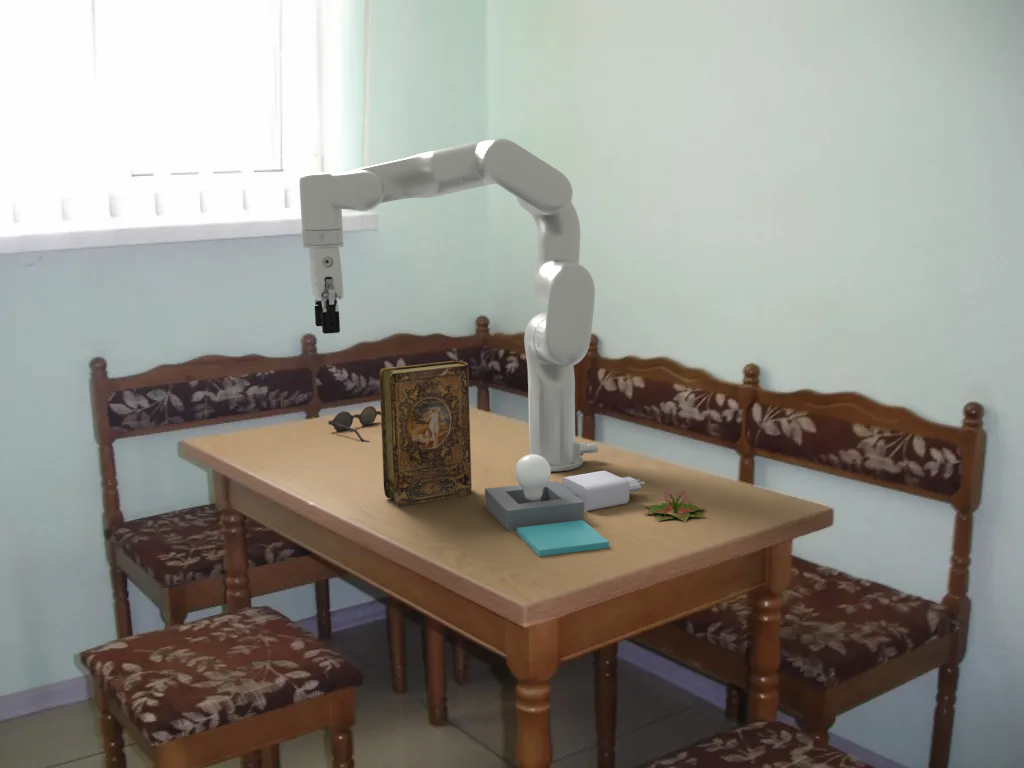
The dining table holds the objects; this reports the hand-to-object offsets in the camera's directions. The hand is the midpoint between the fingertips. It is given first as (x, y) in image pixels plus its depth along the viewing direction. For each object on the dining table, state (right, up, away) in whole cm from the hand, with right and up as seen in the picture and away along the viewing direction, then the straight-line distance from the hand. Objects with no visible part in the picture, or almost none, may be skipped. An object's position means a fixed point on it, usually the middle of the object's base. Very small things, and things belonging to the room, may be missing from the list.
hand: (327, 329), depth 216 cm
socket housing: (+39, -34, -13) cm, 53 cm away
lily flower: (+64, -34, -14) cm, 74 cm away
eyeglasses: (+2, -22, +50) cm, 55 cm away
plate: (+43, -36, -27) cm, 63 cm away
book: (+20, -32, -1) cm, 38 cm away
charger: (+53, -32, -5) cm, 62 cm away
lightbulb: (+39, -34, -13) cm, 53 cm away
